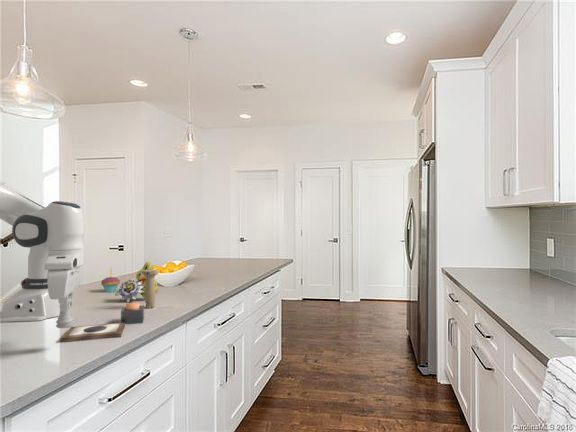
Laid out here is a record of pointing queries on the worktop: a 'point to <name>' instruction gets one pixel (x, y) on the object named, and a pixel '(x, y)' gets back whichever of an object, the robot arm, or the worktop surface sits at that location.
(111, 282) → the cupcake
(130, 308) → the button
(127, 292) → the passion flower
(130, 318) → the button housing
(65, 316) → the rook chess piece
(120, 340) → the worktop surface
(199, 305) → the worktop surface
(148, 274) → the handle
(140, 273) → the yellow green figurine
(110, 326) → the board
